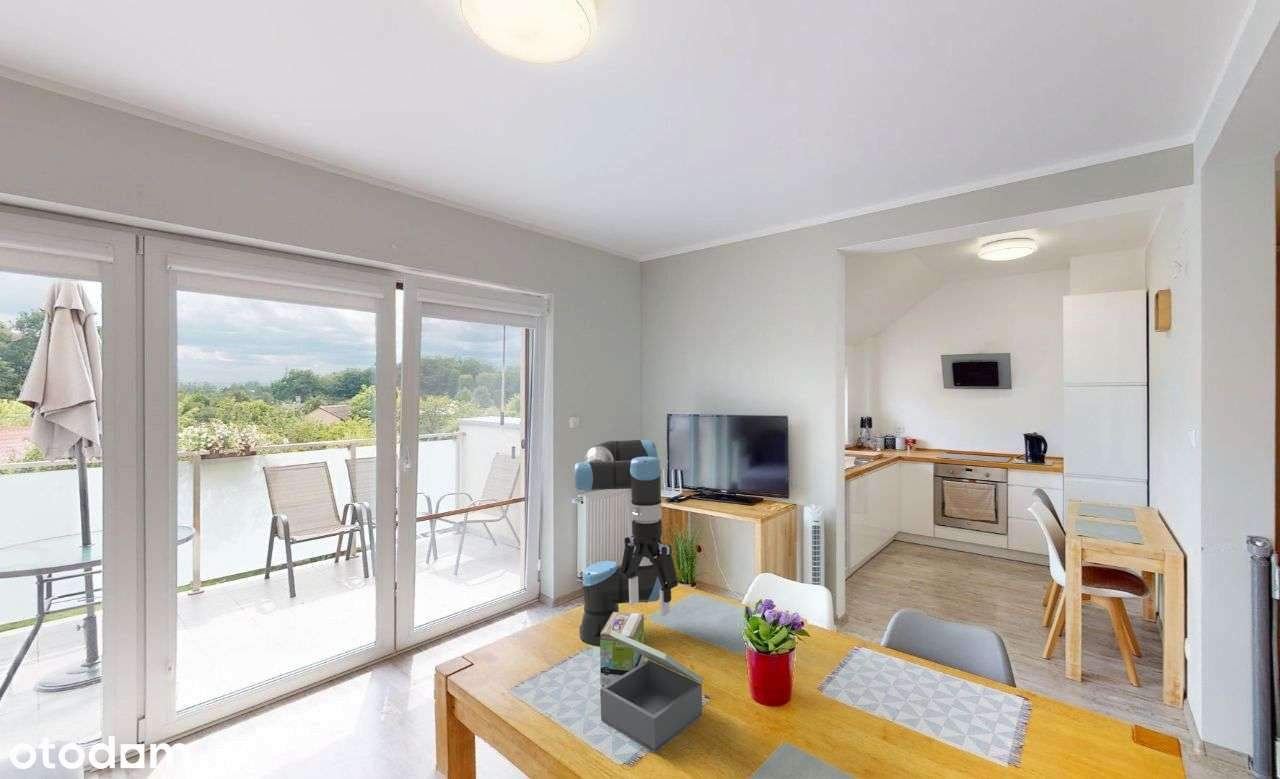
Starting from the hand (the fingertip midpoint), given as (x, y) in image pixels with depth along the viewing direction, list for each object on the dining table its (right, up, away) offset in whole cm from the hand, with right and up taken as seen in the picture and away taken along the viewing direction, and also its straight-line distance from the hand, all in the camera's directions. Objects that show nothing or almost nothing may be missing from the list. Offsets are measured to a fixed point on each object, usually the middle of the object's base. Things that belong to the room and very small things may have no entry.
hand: (649, 608), depth 132 cm
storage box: (+1, -28, 0) cm, 28 cm away
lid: (+2, -14, +2) cm, 14 cm away
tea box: (-7, -28, +21) cm, 36 cm away
